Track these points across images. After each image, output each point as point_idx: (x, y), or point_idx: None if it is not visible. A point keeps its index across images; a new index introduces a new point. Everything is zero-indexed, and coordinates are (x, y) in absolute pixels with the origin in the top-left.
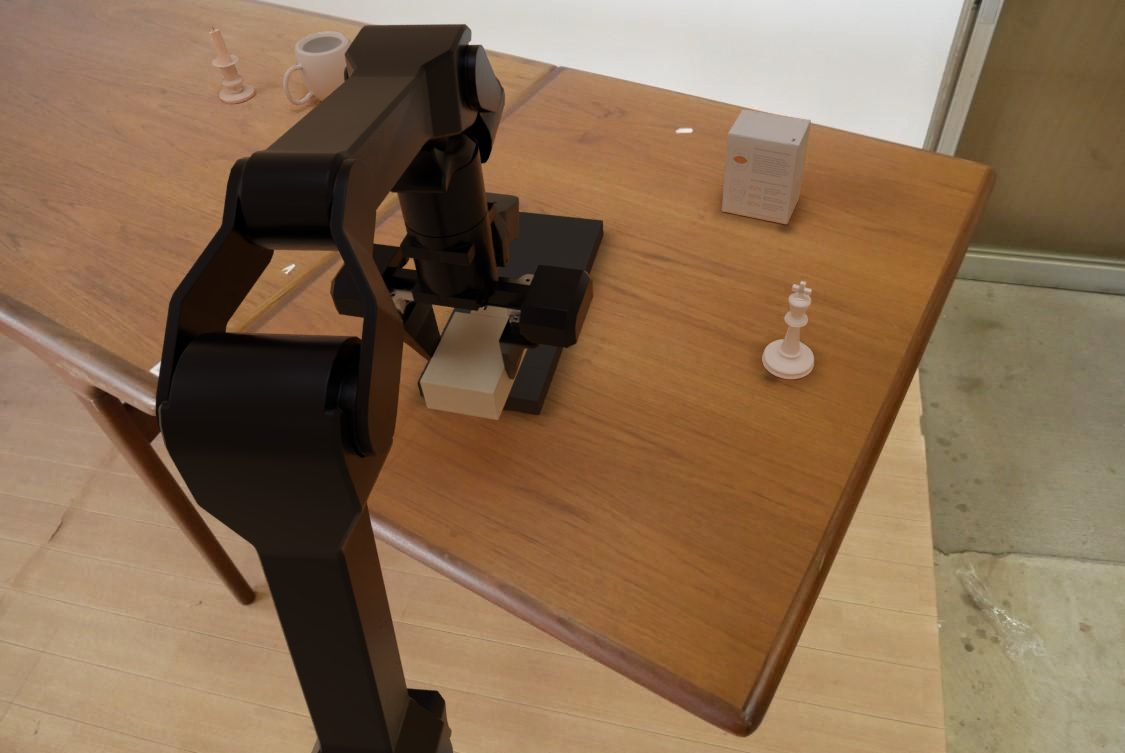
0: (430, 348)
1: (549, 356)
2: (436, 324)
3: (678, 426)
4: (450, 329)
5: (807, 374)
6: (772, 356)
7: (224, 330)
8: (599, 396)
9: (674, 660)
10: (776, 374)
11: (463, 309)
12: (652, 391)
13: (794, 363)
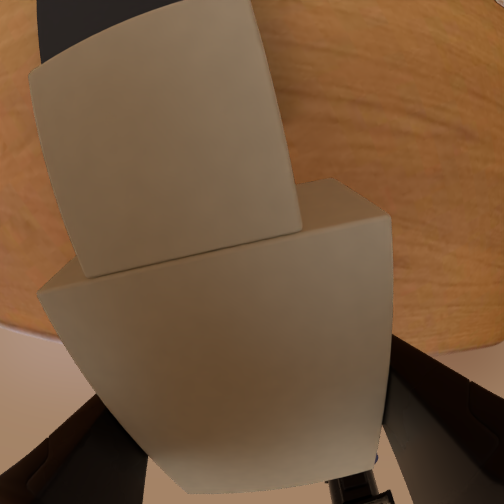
0: (135, 469)
1: None
2: (80, 453)
3: (458, 88)
4: (99, 381)
5: None
6: None
7: None
8: (347, 58)
9: (478, 339)
10: (500, 3)
11: (51, 26)
12: (409, 33)
13: None
